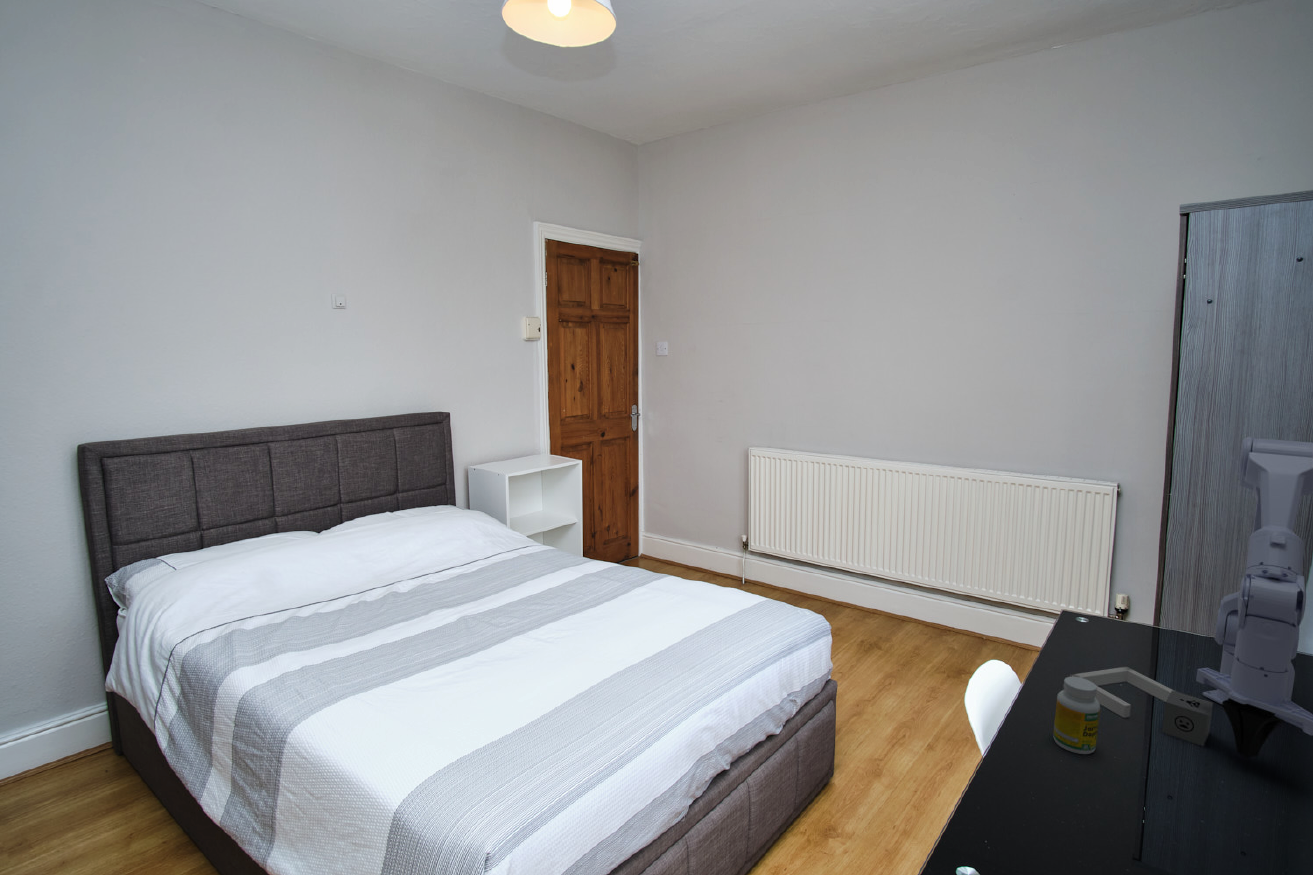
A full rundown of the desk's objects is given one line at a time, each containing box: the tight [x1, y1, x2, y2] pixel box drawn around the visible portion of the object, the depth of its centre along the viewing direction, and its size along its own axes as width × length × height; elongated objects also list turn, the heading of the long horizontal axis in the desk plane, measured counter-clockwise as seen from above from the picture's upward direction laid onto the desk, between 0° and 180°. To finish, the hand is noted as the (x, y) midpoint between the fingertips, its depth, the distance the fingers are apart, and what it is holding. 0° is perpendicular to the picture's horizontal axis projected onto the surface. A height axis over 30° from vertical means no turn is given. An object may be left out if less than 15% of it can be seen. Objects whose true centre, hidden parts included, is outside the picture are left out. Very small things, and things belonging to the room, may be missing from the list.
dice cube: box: [1161, 689, 1214, 747], centre depth 102 cm, size 5×5×5 cm
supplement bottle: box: [1052, 676, 1101, 755], centre depth 98 cm, size 5×5×10 cm
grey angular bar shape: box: [1069, 666, 1175, 719], centre depth 113 cm, size 12×10×2 cm
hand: (1247, 753), depth 95 cm, fingers closed
